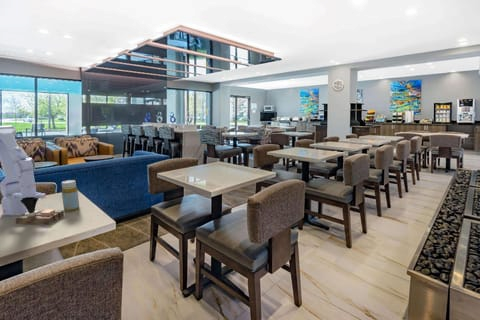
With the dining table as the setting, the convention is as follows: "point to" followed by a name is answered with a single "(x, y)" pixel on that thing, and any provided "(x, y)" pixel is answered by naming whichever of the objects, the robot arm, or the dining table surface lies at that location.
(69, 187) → the bottle
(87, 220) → the dining table surface
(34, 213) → the cream key
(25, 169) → the robot arm
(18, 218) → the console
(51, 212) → the terracotta key
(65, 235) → the dining table surface
